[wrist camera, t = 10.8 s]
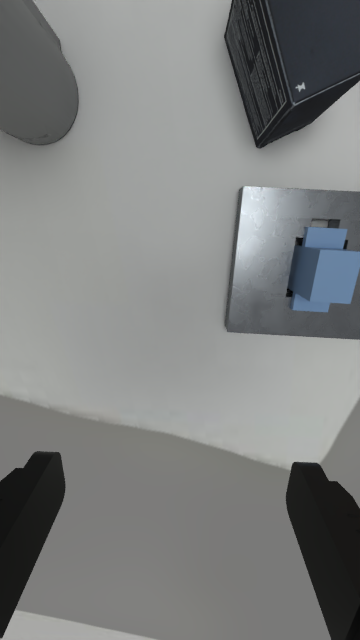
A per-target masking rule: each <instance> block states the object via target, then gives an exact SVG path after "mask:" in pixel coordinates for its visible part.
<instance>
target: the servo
mask: <svg viewBox="0 0 360 640" xmlns="http://www.w3.org/2000/svg"><path fill="white" fill-rule="evenodd" d="M346 234H347V229H337V228H319V227H305V232H304V238H303V243H302V245H295V246H294V252H293V257H292V263H291V269H290V274H289V280H288V286H287V288H288V289H290V290H292V291H293V296H292V301H291V306H290V309H292V310H296V311H313V312H328V310H329V305H330V303H342V304H350V303H351V300H352V296H353V292H354V288H355V284H356V281H357V277H358V273H359V269H360V251H353V250H346V249H343V246H344V242H345V238H346Z"/></svg>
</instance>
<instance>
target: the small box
mask: <svg viewBox="0 0 360 640" xmlns="http://www.w3.org/2000/svg"><path fill="white" fill-rule="evenodd" d="M224 38H225V41H226V44H227V48H228V51H229V55H230V58H231V62H232V65H233V68H234V72H235V76H236V79H237V82H238V86H239V89H240V92H241V96H242V99H243V103H244V106H245V110H246V113H247V116H248V120H249V123H250V126H251V130H252V133H253V136H254V139H255V143H256V147H258V148H262V147H264V146H265V145H267V144H268V143H270V142H271V143H272V142H273V141H274V140H277V139H279V138H281V137H283V136H285V135H288V134H290V133H292V132H294V131H298V130H300V129H301V128H303V127H305V126H306V125H308V124H310V123H312V122H313V121H314V120H315V119H316V118H317V117H319V116H320V115H321V114H322V113H323V112H324V111H325V110H327V109H328V108H329V107H330V106H331V105H332V104H333V103H334V102H335V101H337V100H338V99H339V98H340V97H341V96H342V95H344V94H345V93H346V92H347V91H348V90H349V89H350V88H352V87H353V86H354V85H355V84H356V83H358V82H359V81H360V0H232V3H231V9H230V13H229V19H228V22H227V27H226V32H225V35H224Z"/></svg>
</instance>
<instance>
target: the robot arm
mask: <svg viewBox="0 0 360 640" xmlns="http://www.w3.org/2000/svg"><path fill="white" fill-rule="evenodd" d="M77 106H78V90H77V85H76V81H75V77H74V74H73V72H72V70H71V67H70V65H69V64H68V62H67V61H66V59H65V58H64V56H63V54H62V53H61V49H60V40H59V38H58V37H57V35H56V34H55V32H54V31H53V29H52V28H51V26H50V25H49V24H48V22H47V21H46V19H45V18H44V16H43V15H42V13H41V12H40V11H39V9H38V8H37V6H36V5H35V3H34V2H33V1H32V0H0V129H1V130H3V131H5V132H6V133H8V134H10V135H12V136H14V137H16V138H19V139H21V140H23V141H25V142H28V143H31V144H37V145H43V144H49V143H52V142H55V141H57V140H58V139H60V138H61V137H63V136H64V135H65V134H66V133H67V131H68V130H69V129H70V127H71V125H72V124H73V122H74V119H75V116H76V113H77ZM64 493H65V478H64V472H63V467H62V460H61V455H60V453H59V452H41V451H37V452H35V453H34V454H33V455H32V456H31V458H30V459H29V460H28V462H27V464H26V465H25V466H24V468H15V469H14V470H13V471H12V472H11V473H10V474H8V475H7V476H6V477H5V478H4V479H2V480H1V481H0V638H2V637H3V635H4V633H5V631H6V628H7V626H8V624H9V622H10V619H11V617H12V615H13V613H14V610H15V608H16V606H17V604H18V601H19V599H20V597H21V594H22V592H23V590H24V588H25V586H26V583H27V581H28V579H29V577H30V574H31V572H32V570H33V568H34V565H35V563H36V561H37V559H38V556H39V554H40V552H41V550H42V547H43V545H44V543H45V541H46V538H47V536H48V534H49V532H50V529H51V527H52V525H53V522H54V520H55V518H56V516H57V514H58V512H59V509H60V507H61V505H62V502H63V498H64ZM286 504H287V511H288V514H289V518H290V521H291V523H292V526H293V529H294V532H295V535H296V538H297V541H298V544H299V546H300V550H301V553H302V555H303V558H304V561H305V564H306V567H307V570H308V573H309V576H310V579H311V582H312V585H313V587H314V590H315V593H316V596H317V599H318V602H319V605H320V608H321V611H322V614H323V617H324V619H325V622H326V625H327V628H328V631H329V634H330V637H331V640H360V508H359V507H358V505H357V504H356V502H355V500H354V498H353V497H352V496H351V495H350V494H349V493H348V492H347V491H346V490H345V489H344V488H343V487H342V486H341V485H340V484H339V483H338V482H337V481H329V480H328V479H327V477H326V475H325V473H324V471H323V469H322V468H321V466H320V465H319V464H318V463H308V462H294V463H293V464H292V468H291V473H290V478H289V483H288V488H287V492H286Z"/></svg>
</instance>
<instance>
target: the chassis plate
mask: <svg viewBox="0 0 360 640" xmlns="http://www.w3.org/2000/svg"><path fill="white" fill-rule="evenodd" d="M312 219H317V220H329V224H328V228H337V229H347V234H346V238H345V242H344V246H343V249H346V250H353V251H360V192H352V191H331V190H310V189H289V188H268V187H247V186H243V187H242V188H241V189H239V198H238V207H237V217H236V226H235V235H234V245H233V254H232V263H231V273H230V282H229V292H228V301H227V310H226V320H225V327H226V329H227V332H236V333H254V334H271V335H289V336H306V337H324V338H341V339H359V340H360V269H359V273H358V277H357V281H356V284H355V288H354V292H353V296H352V300H351V303H350V304H342V303H330V305H329V310H328V312H313V311H296V310H292V309H290V306H291V301H292V296H293V293H286V292H287V286H288V280H289V274H290V269H291V263H292V257H293V252H294V246H295V240H296V237H300V238H304V232H305V227H310V226H311V221H312Z"/></svg>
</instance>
